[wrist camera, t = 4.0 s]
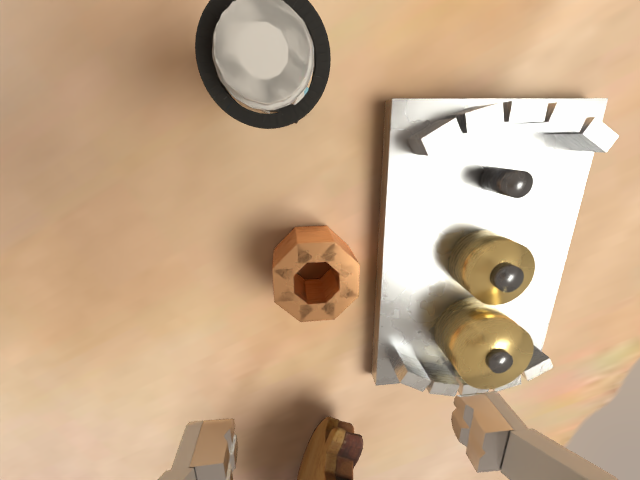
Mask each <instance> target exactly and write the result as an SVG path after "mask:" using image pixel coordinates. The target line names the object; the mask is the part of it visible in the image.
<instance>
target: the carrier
mask: <svg viewBox="0 0 640 480" xmlns="http://www.w3.org/2000/svg"><path fill="white" fill-rule="evenodd" d="M607 101H608V98H578V99H390V100H387V101H385V115H384V135H383V155H382V175H381V195H380V215H379V234H378V254H377V274H376V294H375V314H374V334H373V353H372V373H371V374H372V376H373V379H374V382H375V384H376V385H386V384H396V383H402V384H404V385H407V386H410V387H412V388H415V389H417V390H420V391H422V392H423V391H424V390H425V388H427V390H428V392H429V393H430V394H439V395H447V396H455V395H456V392H457V390H458V392H459V393H460V395H464V394H473V393H483V392H488V391H489V389H493V390H494V391H496V392H497V391H500V390H503V389H507V388H510V387H513V386H516V385H519V384H521V374H522V375H523V376H524V377H525V378H526V379H527V380H528V381H529V380H531V379H533V378H534V377H536V376H538V375H540V374H542V373H544V372H546V371H548V370H549V369H551V368H553V366H552V363H551V360H550V358H549V357H548V356H546V355H545V354H544V353H543V352H542V347H543V344H544V340H545V336H546V332H547V328H548V325H549V321H550V317H551V313H552V309H553V306H554V302H555V298H556V294H557V291H558V287H559V283H560V279H561V275H562V272H563V268H564V264H565V260H566V256H567V253H568V249H569V245H570V241H571V237H572V234H573V230H574V226H575V222H576V218H577V215H578V211H579V207H580V203H581V199H582V196H583V192H584V188H585V184H586V180H587V177H588V173H589V169H590V165H591V161H592V158H593V154H594V152H607V151H608V150H609V148H610V147H611V146H612V144H613V143H614V142H615V141H616V139H617V138H618V137H619V136H618V135H617V134H616V133H615V132H613V131H612V130H611V129H610V128H609V127H607V126H606V125H605V124H604V123H603V122H602V120H603V116H604V112H605V108H606V104H607Z"/></svg>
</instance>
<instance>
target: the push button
mask: <svg viewBox="0 0 640 480" xmlns="http://www.w3.org/2000/svg"><path fill="white" fill-rule="evenodd" d="M195 52H196V61H197V65H198V70H199V73H200V76H201V78H202V81H203V83H204V85H205V87H206V89H207V91H208V92H209V94H210V95H211V97H212V98H213V100H214V101H215V102H216V103H217V104H218V105H219V106H220V107H221V109H222V110H224V111H225V112H226V113H227V114H228V115H230V116H231V117H233V118H234V119H236V120H238V121H240V122H242V123H244V124H247V125H250V126H253V127H257V128H264V129H274V128H281V127H284V126H288V125H290V124H293V123H297V122H298V120H300V119H301V118H303V117H304V116H305V115H306V114H308V113H309V112H310V111H311V110H312V109H313V107H314V106H315V105H316V104H317V102H318V101H319V99H320V97H321V96H322V94H323V92H324V89H325V87H326V84H327V81H328V77H329V71H330V46H329V41H328V36H327V33H326V30H325V27H324V25H323V23H322V20H321V18H320V17H319V15H318V13H317V11H316V10H315V9H314V7H313V6H312V5H311V3H310V2H309V1H308V0H210V1H209V3H208V4H207V6H206V7H205V9H204V11H203V13H202V15H201V18H200V20H199V24H198V27H197V33H196V42H195ZM312 72H313V75H312ZM311 75H312V81H311V84H310V87H309V88H308V87H307V86H308V83H309V80H310V77H311ZM226 88H227V89H226ZM227 90H228V91H229V92H230V94H231V95H232V96H233V97H234V98H235V99H237V100H239V101H240V102H242V103H244V104H246V105H247V106H249V107H251V108H254V109H260V110H262V111H264V112H266V113H268V114H263V113H257V112H253V111H250V110H248V109H246V108H244V107H242V106H241V105H239V104H238V103H237V102H236V101H235V100H234V99H233V98H232V97H231V95H230V94H229V92H228V91H227ZM270 112H278V113H273V114H271V113H270Z"/></svg>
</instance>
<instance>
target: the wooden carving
mask: <svg viewBox="0 0 640 480" xmlns="http://www.w3.org/2000/svg"><path fill="white" fill-rule="evenodd" d="M362 449H363V439H362V436H361V435H359V434H354V428H353V426H352V424H350V423H346V422H342V421H339V420H338V419H335V418H331V417H329V416H328V417H327V418H325V419H324V420H323V421H322V422H321V423H320V424H319V425H318V427H317V428H316V429H315V431H314V433H313V435H312V437H311V439H310V441H309V443H308V446H307V448H306V450H305V453H304V456H303V459H302V462H301V466H300V469H299V473H298V477H297V480H353V468H354V466H355V465H356V463H357V461H358V459H359V457H360V455H361V452H362Z"/></svg>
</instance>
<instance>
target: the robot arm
mask: <svg viewBox="0 0 640 480" xmlns="http://www.w3.org/2000/svg"><path fill="white" fill-rule="evenodd" d="M454 405H455V406H456V409H455V410H454V411H453V412H452V418H451V421H452V427H453V430H454V433H455V435H456V437H457V439H458V440H459V442H460V443H462V444H463V445H465V446H466V447H467V448H466V454H467V456H468V458H469V460H470V461H471V463H472V465H473V467H474V468H475V470H476V472H477V473H478V472H489V471H499V470H501V473H503V474H504V475H505V476H506V477H507V478H508V479H510V480H618V479H617V478H616V477H615V476H613V475H611V474H609V473H608V472H606V471H604V470H602V469H601V468H599V467H597V466H596V465H594V464H592V463H591V462H589V461H587V460H585V459H584V458H582V457H580V456H579V455H577V454H575V453H573V452H572V451H570V450H568V449H567V448H565V447H563V446H562V445H560V444H558V443H556V442H555V441H553V440H551V439H550V438H548V437H546V436H544V435H543V434H541V433H539V432H538V431H536V430H534V429H528V428H527V426H526V425H525V424H524V423H523V422H522V420H521V419H520V418H519V417H518V416H517V415H516V413H515V412H514V411H513V410H512V409H511V407H510V406H509V405H508V404H507V403H506V402H505V400H504V399H503V398H502V397H501V396H500V394H499V393H497V392H496V391H493V392H483V393H473V394H464V395H457V396H456V397H455V398H454ZM234 430H235V422H234V419H233V418H232V419H219V420H205V421H195V422H189V423H188V424H187V426H186V428H185V431H184V434H183V436H182V439H181V442H180V445H179V448H178V451H177V454H176V457H175V459H174V462H173V465H172V468H171V470H168V471H165V472H164V473H163V475H162V476H161V477H160V478H159V479H158V480H233V475H232V471H233V470H234V469H235V468H236V460H237V436H236V435H235V434H234Z"/></svg>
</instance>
